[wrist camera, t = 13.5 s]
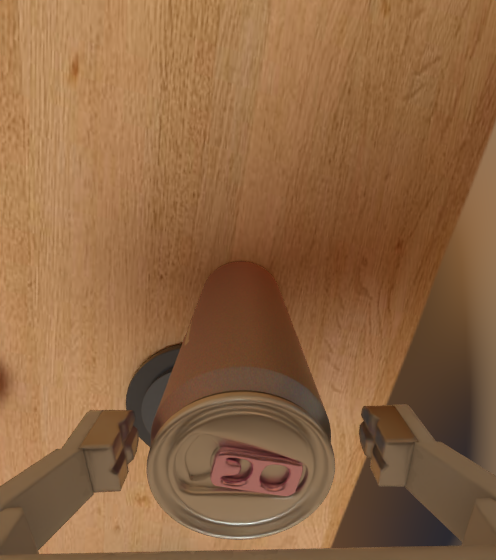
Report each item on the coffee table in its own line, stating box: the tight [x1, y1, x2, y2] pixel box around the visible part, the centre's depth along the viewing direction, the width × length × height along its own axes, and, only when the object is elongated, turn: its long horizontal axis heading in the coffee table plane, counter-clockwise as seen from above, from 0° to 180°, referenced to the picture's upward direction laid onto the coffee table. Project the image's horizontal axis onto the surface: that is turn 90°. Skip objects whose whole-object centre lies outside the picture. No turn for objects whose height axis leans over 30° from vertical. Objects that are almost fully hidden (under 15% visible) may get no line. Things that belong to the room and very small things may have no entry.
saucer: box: [126, 344, 182, 447], centre depth 25 cm, size 12×12×1 cm
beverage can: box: [147, 261, 335, 540], centre depth 16 cm, size 6×6×15 cm
